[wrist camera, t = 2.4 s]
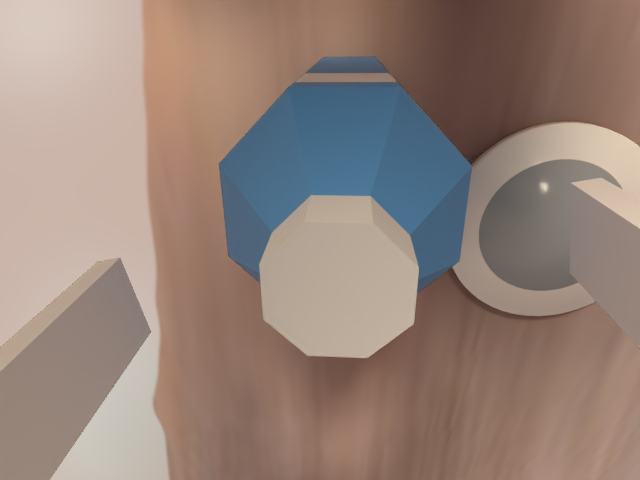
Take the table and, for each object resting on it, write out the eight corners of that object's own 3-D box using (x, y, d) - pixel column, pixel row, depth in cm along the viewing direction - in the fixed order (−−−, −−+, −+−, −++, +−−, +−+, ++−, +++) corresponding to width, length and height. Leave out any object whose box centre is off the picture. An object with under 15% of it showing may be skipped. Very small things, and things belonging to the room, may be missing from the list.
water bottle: (427, 153, 35) (570, 383, 12) (315, 196, 37) (254, 463, 14) (386, 28, 31) (475, 19, 9) (265, 83, 33) (76, 194, 11)
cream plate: (433, 143, 34) (436, 147, 33) (664, 101, 32) (676, 103, 31) (452, 319, 41) (455, 327, 39) (646, 294, 38) (655, 302, 37)
